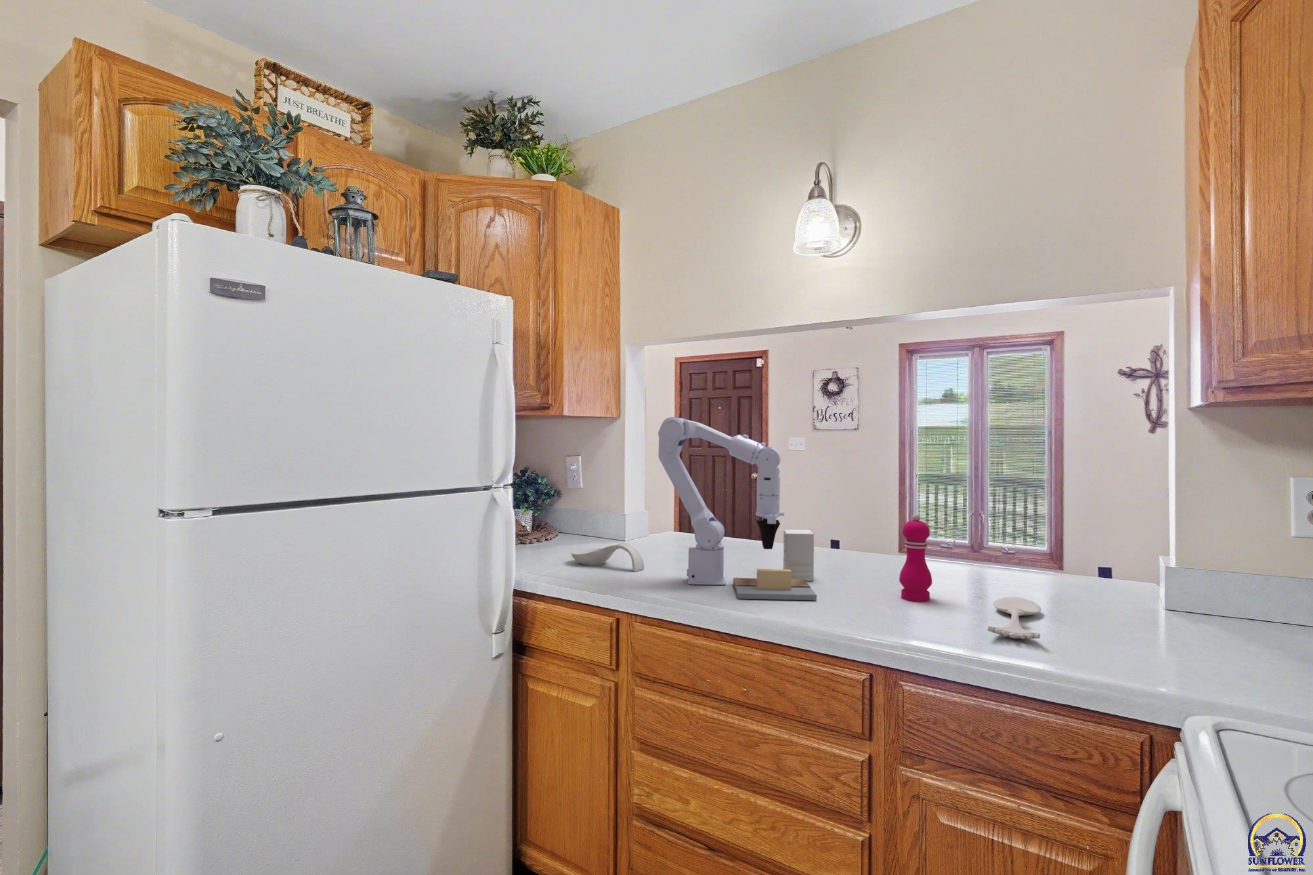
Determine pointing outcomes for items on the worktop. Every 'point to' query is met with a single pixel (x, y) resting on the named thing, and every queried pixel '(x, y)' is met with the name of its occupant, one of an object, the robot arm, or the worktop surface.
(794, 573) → the supplement box
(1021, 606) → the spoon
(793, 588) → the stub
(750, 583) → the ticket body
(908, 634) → the worktop surface
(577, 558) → the spoon rest
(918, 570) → the pepper mill
